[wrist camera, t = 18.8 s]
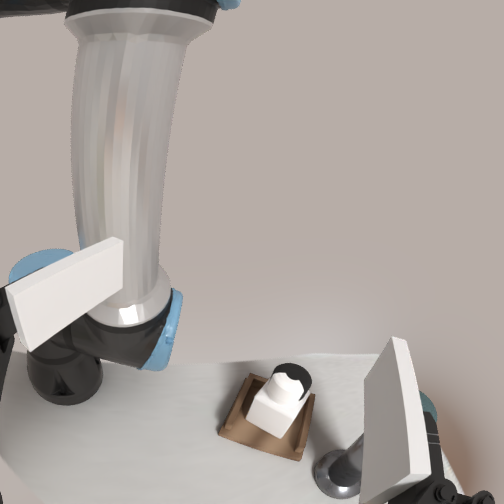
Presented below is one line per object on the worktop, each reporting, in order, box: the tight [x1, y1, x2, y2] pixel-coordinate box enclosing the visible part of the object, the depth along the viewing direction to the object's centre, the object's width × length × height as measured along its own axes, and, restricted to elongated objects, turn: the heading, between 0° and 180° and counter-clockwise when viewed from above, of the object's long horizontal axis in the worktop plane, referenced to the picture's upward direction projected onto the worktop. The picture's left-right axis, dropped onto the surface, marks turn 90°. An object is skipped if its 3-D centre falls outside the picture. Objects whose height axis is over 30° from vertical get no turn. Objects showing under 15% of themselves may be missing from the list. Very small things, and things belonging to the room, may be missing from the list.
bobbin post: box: [314, 391, 437, 499], centre depth 29 cm, size 10×10×20 cm
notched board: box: [218, 373, 315, 461], centre depth 42 cm, size 14×14×4 cm
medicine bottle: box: [245, 363, 312, 439], centre depth 40 cm, size 7×7×12 cm
